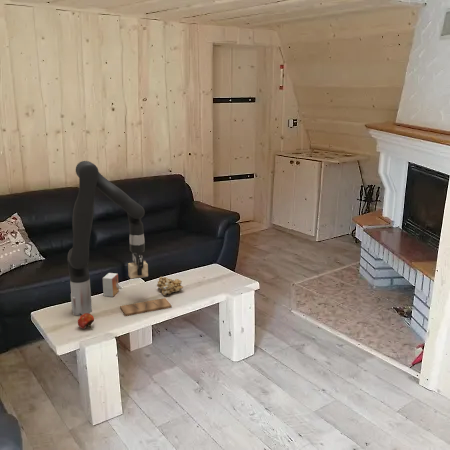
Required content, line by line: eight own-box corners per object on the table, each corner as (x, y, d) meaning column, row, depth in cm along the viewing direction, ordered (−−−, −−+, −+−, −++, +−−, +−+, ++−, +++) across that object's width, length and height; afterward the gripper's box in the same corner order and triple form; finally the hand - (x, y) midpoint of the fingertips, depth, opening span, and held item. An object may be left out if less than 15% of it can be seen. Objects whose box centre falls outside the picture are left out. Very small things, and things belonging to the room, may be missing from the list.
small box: (113, 297, 259) (112, 278, 256) (103, 296, 260) (102, 277, 257) (119, 291, 267) (118, 273, 264) (109, 290, 268) (108, 272, 265)
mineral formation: (164, 298, 258) (150, 287, 269) (185, 295, 267) (170, 285, 278) (167, 284, 256) (152, 274, 267) (187, 282, 265) (172, 272, 276)
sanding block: (131, 279, 248) (130, 266, 246) (128, 275, 252) (128, 263, 250) (148, 276, 252) (147, 264, 250) (145, 273, 256) (144, 260, 254)
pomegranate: (97, 330, 228) (86, 313, 232) (100, 322, 223) (89, 305, 227) (83, 337, 224) (72, 320, 227) (86, 329, 218) (75, 312, 222)
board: (125, 316, 237) (124, 314, 237) (120, 308, 246) (120, 306, 246) (171, 307, 247) (171, 305, 247) (165, 300, 256) (165, 297, 256)
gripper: (126, 239, 251) (127, 269, 256) (133, 247, 239) (134, 279, 244) (140, 237, 255) (141, 267, 259) (148, 245, 242) (149, 277, 247)
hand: (138, 273), depth 251 cm, fingers closed on sanding block, 5 cm apart
